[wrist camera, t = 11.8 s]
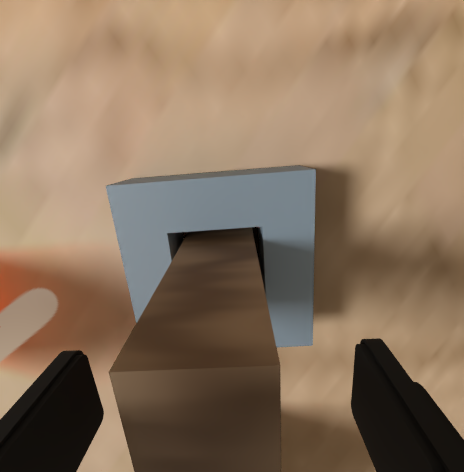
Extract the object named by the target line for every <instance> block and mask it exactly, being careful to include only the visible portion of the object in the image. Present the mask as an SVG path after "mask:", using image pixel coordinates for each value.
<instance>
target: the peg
mask: <svg viewBox="0 0 464 472" xmlns="http://www.w3.org/2000/svg"><path fill="white" fill-rule="evenodd" d="M109 375H110V379H111V383H112V387H113V391H114V394H115V398H116V402H117V406H118V410H119V414H120V418H121V421H122V425H123V429H124V433H125V437H126V441H127V444H128V448H129V452H130V456H131V460H132V464H133V468H134V471H135V472H281V407H280V362H279V357H278V353H277V348H276V343H275V338H274V333H273V328H272V324H271V319H270V314H269V309H268V304H267V299H266V295H265V290H264V285H263V280H262V275H261V270H260V266H259V261H258V256H257V251H256V246H255V241H254V237H253V232H252V227H248V228H234V229H220V230H206V231H192V232H188V234H187V235H186V237H185V239H184V241H183V242H182V244H181V246H180V248H179V249H178V251H177V253H176V255H175V256H174V258H173V260H172V262H171V264H170V265H169V267H168V269H167V271H166V272H165V274H164V276H163V278H162V279H161V281H160V283H159V285H158V286H157V288H156V290H155V292H154V293H153V295H152V297H151V299H150V301H149V302H148V304H147V306H146V308H145V309H144V311H143V313H142V315H141V316H140V318H139V320H138V322H137V323H136V325H135V327H134V329H133V330H132V332H131V334H130V336H129V338H128V339H127V341H126V343H125V345H124V346H123V348H122V350H121V352H120V353H119V355H118V357H117V359H116V360H115V362H114V364H113V366H112V367H111V369H110V371H109Z"/></svg>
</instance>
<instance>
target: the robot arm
mask: <svg viewBox="0 0 464 472" xmlns="http://www.w3.org/2000/svg"><path fill="white" fill-rule="evenodd" d="M351 408H352V413H353V416H354V419H355V421H356V424H357V426H358V429H359V431H360V433H361V436H362V438H363V440H364V443H365V445H366V448H367V450H368V452H369V455H370V457H371V460H372V462H373V464H374V467H375V469H376V472H464V440H463V438H462V437H461V436H460V434H459V433H458V432H457V430H456V429H455V428H454V427H453V425H452V424H451V423H450V421H449V420H448V419H447V417H446V416H445V415H444V413H443V412H442V411H441V410H440V408H439V407H438V406H437V404H436V403H435V402H434V400H433V399H432V398H431V396H430V395H429V394H428V392H427V391H426V390H425V389H424V388H423V387H422V385H420V384H419V383H417V382H413V381H412V380H411V378H410V377H409V376H408V374H407V373H406V371H405V370H404V369H403V367H402V366H401V365H400V363H399V362H398V361H397V359H396V358H395V357H394V355H393V354H392V352H391V351H390V350H389V348H388V347H387V346H386V344H385V343H384V342H383V341H382V339H362V340H361V343H360V344H356V348H355V360H354V373H353V386H352V399H351ZM103 415H104V411H103V407H102V404H101V401H100V397H99V394H98V391H97V387H96V384H95V381H94V377H93V374H92V371H91V368H90V364H89V361H88V358H87V356H86V355H84V354H83V352H82V351H79V350H78V351H63V352H61V353H60V354H59V355H58V356H57V357H56V358H55V359H54V361H53V362H52V363H51V364H50V365H49V366H48V367H47V368H46V369H45V371H44V372H43V373H42V374H41V375H40V376H39V377H38V378H37V379H36V381H35V382H34V383H33V384H32V385H31V386H30V387H29V388H28V390H27V391H26V392H25V393H24V394H23V395H22V396H21V397H20V398H19V400H18V401H17V402H16V403H15V404H14V405H13V406H12V407H11V408H10V410H9V411H8V412H7V413H6V414H5V415H4V416H3V417H2V419H1V420H0V472H76V471H77V469H78V467H79V465H80V463H81V461H82V459H83V457H84V456H85V454H86V452H87V450H88V448H89V446H90V444H91V442H92V440H93V438H94V436H95V434H96V432H97V430H98V428H99V426H100V425H101V422H102V420H103Z"/></svg>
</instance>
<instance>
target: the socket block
mask: <svg viewBox="0 0 464 472" xmlns="http://www.w3.org/2000/svg"><path fill="white" fill-rule="evenodd" d="M315 183H316V169H313V168H309V167H305V166H301V165H296V166H283V167H271V168H258V169H246V170H233V171H221V172H208V173H196V174H183V175H171V176H158V177H146V178H133V179H128V180H125V181H121V182H118V183H114V184H111V185H107V186H106V190H107V194H108V199H109V203H110V208H111V212H112V216H113V221H114V225H115V230H116V234H117V239H118V243H119V248H120V252H121V257H122V261H123V266H124V270H125V275H126V279H127V283H128V288H129V292H130V297H131V301H132V306H133V310H134V315H135V319H136V323H137V322H138V320H139V318H140V316H141V315H142V313H143V311H144V309H145V308H146V306H147V304H148V302H149V301H150V299H151V297H152V295H153V293H154V292H155V290H156V288H157V286H158V285H159V283H160V281H161V279H162V278H163V276H164V274H165V272H166V271H167V269H168V267H169V265H170V264H171V262H172V260H173V258H174V256H175V255H176V253H177V251H178V249H179V248H180V246H181V244H182V242H183V234H182V232H192V231H206V230H220V229H234V228H248V227H258V233H259V253H260V270H261V275H262V280H263V285H264V290H265V295H266V299H267V304H268V309H269V314H270V319H271V324H272V328H273V333H274V338H275V343H276V347H292V346H310V345H313V294H314V238H315Z"/></svg>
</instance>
